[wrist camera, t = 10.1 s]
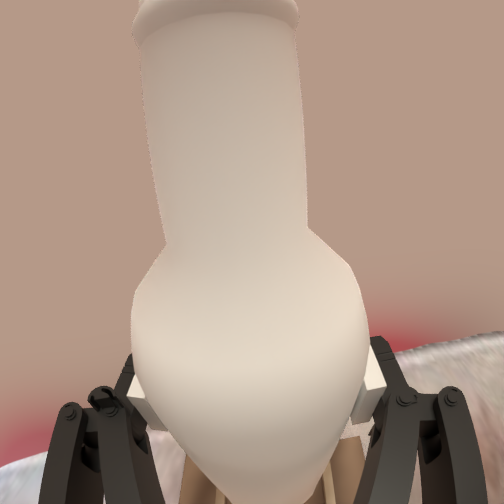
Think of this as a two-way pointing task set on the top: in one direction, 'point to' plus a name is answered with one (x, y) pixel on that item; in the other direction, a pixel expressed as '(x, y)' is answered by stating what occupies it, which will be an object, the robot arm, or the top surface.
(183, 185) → the bottle
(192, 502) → the serving board
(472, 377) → the top surface
